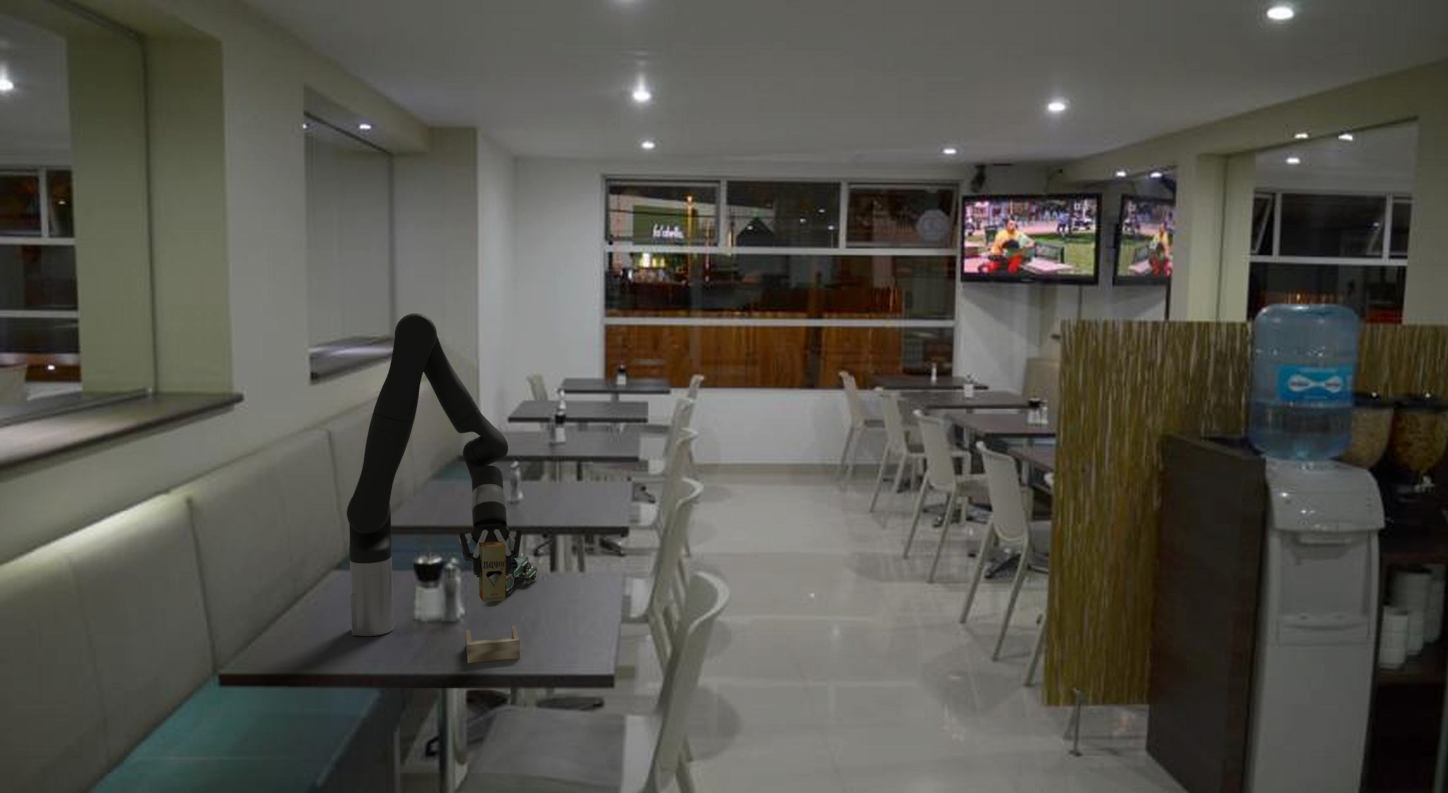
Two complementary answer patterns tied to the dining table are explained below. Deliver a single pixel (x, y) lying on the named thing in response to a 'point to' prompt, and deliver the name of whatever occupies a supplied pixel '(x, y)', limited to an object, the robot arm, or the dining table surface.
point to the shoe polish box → (492, 571)
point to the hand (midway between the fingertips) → (492, 574)
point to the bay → (493, 648)
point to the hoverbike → (520, 572)
